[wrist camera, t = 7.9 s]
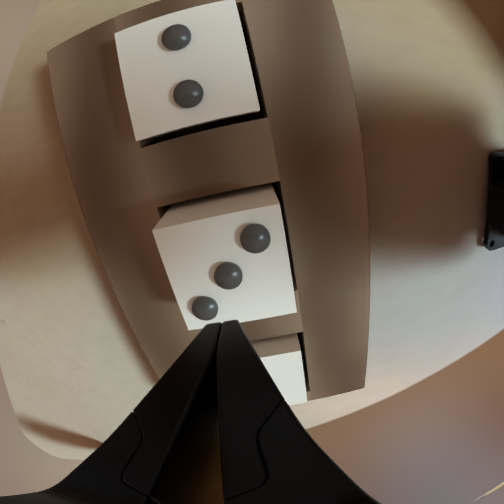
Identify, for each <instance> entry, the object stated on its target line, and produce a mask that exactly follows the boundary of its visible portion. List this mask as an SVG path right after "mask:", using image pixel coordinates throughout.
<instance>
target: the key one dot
mask: <svg viewBox="0 0 504 504" xmlns="http://www.w3.org/2000/svg"><path fill="white" fill-rule="evenodd" d="M250 342H251V344H252V345H253V347H254V349H255V350H256V352H257V354H258V356H259V357H260V359H261V361H262V362H263V364H264V366H265V367H266V369H267V371H268V372H269V374H270V376H271V377H272V379H273V381H274V382H275V384H276V386H277V387H278V389H279V391H280V392H281V394H282V396H283V397H284V399H285V401H286V402H287V403H288V405H294V404H299V403H304V402H307V394H306V386H305V378H304V370H303V363H302V355H301V349H300V344H299V340H298V336H297V333H293V334H288V335H283V336H277V337H272V338H266V339H260V340H254V341H250Z"/></svg>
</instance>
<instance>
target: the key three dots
mask: <svg viewBox="0 0 504 504" xmlns="http://www.w3.org/2000/svg"><path fill="white" fill-rule="evenodd" d="M152 232H153V235H154V238H155V241H156V244H157V247H158V250H159V253H160V256H161V259H162V261H163V264H164V267H165V270H166V273H167V275H168V278H169V281H170V284H171V286H172V289H173V292H174V294H175V297H176V300H177V302H178V305H179V308H180V310H181V313H182V315H183V318H184V320H185V323H186V325H187V328H188V330H195V329H202V328H204V326H205V325H206V324H210V323H217V322H221V323H223V322H224V321H229V320H238V321H239V323H241V322H247V321H253V320H259V319H264V318H270V317H275V316H281V315H286V314H291V313H296V312H297V309H296V302H295V295H294V288H293V282H292V275H291V269H290V263H289V256H288V250H287V244H286V238H285V232H284V226H283V220H282V214H281V208H280V203H279V201H278V198H277V196H276V194H275V191H274V189H273V187H272V184H271V183H268V184H263V185H257V186H252V187H247V188H242V189H237V190H232V191H228V192H223V193H218V194H214V195H209V196H205V197H200V198H196V199H191V200H187V201H183V202H178V203H174V204H172V205H171V207H170V208H169V209H168V210H167V212H166V213H165V214H164V215H163V217H162V218H161V219H160V221H159V222H158V223H157V225H156V226H155V227H154V229H153V230H152Z"/></svg>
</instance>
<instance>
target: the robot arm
mask: <svg viewBox="0 0 504 504" xmlns="http://www.w3.org/2000/svg"><path fill="white" fill-rule="evenodd" d="M490 242H491V243H490ZM484 246H485V248H487V249H488V250H489V251H491V250H495V249H498V248H501V247H504V151H498V152H492V153H491V154H490V156H489V191H488V209H487V221H486V230H485V239H484ZM133 411H134V412H131V413H130V414H129V415H128V417H127V418H126V419H125V420H124V421H123V422H122V424H121V425H120V426H119V427H118V428H117V429H116V430H115V431H114V432H113V433H112V434H111V436H110V437H109V438H108V439H107V440H106V441H104V442H103V443H102V444H101V445H100V446H99V447H98V448H97V449H96V450H95V451H94V452H93V453H92V454H91V455H90V456H89V457H88V458H87V459H85V460H84V461H83V462H82V463H81V464H80V465H79V466H78V467H77V468H75V469H74V470H73V471H72V472H71V473H70V474H69V475H68V476H67V477H65V478H64V479H63V480H62V481H61V482H59V483H58V484H56V485H55V486H53V487H51V488H49V489H46V490H43V491H39V492H34V493H27V494H20V495H11V496H1V497H0V504H381V503H379V502H378V501H376V500H375V499H374V498H372V497H371V496H370V495H368V494H367V493H366V492H365V491H364V490H362V489H361V488H360V487H359V486H358V485H357V484H356V483H355V482H353V480H352V479H351V478H349V476H347V475H346V474H345V473H344V471H343V470H342V469H341V468H340V467H339V466H338V465H337V464H336V463H335V462H334V461H333V460H332V459H331V458H330V457H329V456H328V455H327V454H326V453H325V452H324V451H323V450H322V449H321V448H320V447H319V445H318V444H317V443H316V442H315V441H314V440H313V439H312V437H311V436H310V435H309V434H308V432H307V431H306V430H305V429H304V427H303V426H302V425H301V423H300V422H299V420H298V419H297V417H296V416H295V414H294V413H293V411H292V410H291V408H290V407H289V405H288V403H287V402H286V401H285V399H284V397H283V396H282V394H281V392H280V391H279V389H278V387H277V386H276V384H275V382H274V381H273V379H272V377H271V376H270V374H269V372H268V371H267V369H266V367H265V366H264V364H263V362H262V361H261V359H260V357H259V356H258V354H257V352H256V350H255V349H254V347H253V345H252V344H251V342H250V340H249V338H248V337H247V335H246V333H245V331H244V330H243V328H242V326H241V324H240V323H239V321H238V320H229V321H224V322H223V323H221V322H217V323H210V324H206V325H205V326H204V328H203V329H202V330H201V331H200V332H199V333H198V335H197V336H196V337H195V338H194V339H193V341H192V342H191V343H190V344H189V345H188V347H187V348H186V349H185V350H184V351H183V352H182V354H181V355H180V356H179V357H178V358H177V360H176V361H175V362H174V363H173V364H172V365H171V367H170V368H169V369H168V370H167V371H166V372H165V374H164V375H163V376H162V377H161V378H160V380H159V381H158V382H157V383H156V384H155V385H154V387H153V388H152V389H151V390H150V391H149V392H148V394H147V395H146V396H145V397H144V398H143V399H142V401H141V402H140V403H139V404H138V405H137V406H136V408H135V409H134V410H133Z"/></svg>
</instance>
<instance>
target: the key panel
mask: <svg viewBox="0 0 504 504" xmlns="http://www.w3.org/2000/svg"><path fill="white" fill-rule="evenodd" d="M219 1H224V0H161V1H157V2H154V3H151V4H148V5H146V6H143V7H140V8H137V9H134V10H132V11H129V12H127V13H124V14H122V15H119V16H117V17H114V18H112V19H110V20H107V21H105V22H103V23H101V24H98V25H96V26H94V27H92V28H90V29H88V30H86V31H84V32H82V33H80V34H78V35H76V36H74V37H72V38H70V39H69V40H67V41H65V42H63V43H61V44H60V45H58V46H56V47H54V48H53V49H51V50H49V51H48V52H47V58H48V67H49V74H50V81H51V88H52V94H53V99H54V105H55V110H56V115H57V120H58V125H59V130H60V134H61V138H62V143H63V147H64V151H65V155H66V158H67V162H68V166H69V169H70V173H71V177H72V180H73V183H74V187H75V190H76V193H77V196H78V200H79V203H80V206H81V209H82V212H83V215H84V218H85V220H86V223H87V226H88V229H89V232H90V234H91V237H92V240H93V242H94V245H95V248H96V250H97V253H98V255H99V258H100V260H101V263H102V265H103V268H104V270H105V272H106V275H107V277H108V279H109V282H110V284H111V286H112V288H113V291H114V293H115V295H116V297H117V299H118V302H119V304H120V306H121V308H122V310H123V312H124V314H125V316H126V318H127V320H128V322H129V324H130V326H131V328H132V330H133V332H134V334H135V336H136V338H137V340H138V342H139V344H140V346H141V348H142V349H143V351H144V353H145V355H146V357H147V359H148V360H149V362H150V364H151V366H152V368H153V369H154V371H155V373H156V374H157V376H158V378H159V380H160V378H161V377H162V376H163V375H164V374H165V372H166V371H167V370H168V369H169V368H170V367H171V365H172V364H173V363H174V362H175V361H176V360H177V358H178V357H179V356H180V355H181V354H182V352H183V351H184V350H185V349H186V348H187V347H188V345H189V344H190V343H191V342H192V341H193V339H194V338H195V337H196V336H197V335H198V333H199V332H200V331H201V330H202V329H203V328H202V329H195V330H188V328H187V325H186V323H185V320H184V318H183V315H182V313H181V310H180V308H179V305H178V302H177V300H176V297H175V294H174V292H173V289H172V286H171V284H170V281H169V278H168V275H167V273H166V270H165V267H164V264H163V261H162V259H161V256H160V253H159V250H158V247H157V244H156V241H155V238H154V235H153V232H152V230H153V229H154V227H155V226H156V225H157V223H158V222H159V221H160V219H161V218H162V217H163V215H164V214H165V213H166V212H167V210H168V209H169V208H170V207H171V205H172V204H174V203H177V202H181V201H186V200H190V199H194V198H199V197H203V196H208V195H212V194H217V193H222V192H226V191H231V190H236V189H241V188H246V187H251V186H256V185H261V184H266V183H272V182H276V185H277V190H278V196H279V202H280V207H281V213H282V219H283V225H284V231H285V237H286V243H287V249H288V255H289V261H290V269H291V275H292V282H293V288H294V295H295V302H296V309H297V312H296V313H291V314H286V315H281V316H275V317H270V318H264V319H259V320H253V321H247V322H241V323H240V324H241V326H242V328H243V330H244V331H245V333H246V335H247V337H248V338H249V340H250V341H254V340H260V339H266V338H272V337H277V336H283V335H288V334H293V333H298V332H300V336H301V344H302V351H303V359H304V363H303V370H304V378H305V386H306V394H307V401H310V400H315V399H319V398H324V397H329V396H333V395H337V394H342V393H346V392H350V391H354V390H357V389H361V388H364V386H365V376H366V365H367V352H368V336H369V315H370V239H369V217H368V201H367V188H366V177H365V167H364V157H363V149H362V141H361V133H360V126H359V120H358V113H357V107H356V101H355V95H354V90H353V84H352V79H351V74H350V69H349V65H348V60H347V56H346V51H345V47H344V43H343V39H342V35H341V31H340V27H339V23H338V19H337V16H336V12H335V9H334V5H333V2H332V0H235V1H236V5H237V9H238V14H239V18H240V21H242V22H243V26H244V30H245V35H246V39H247V43H248V48H249V52H250V56H251V61H252V65H253V70H254V74H255V79H256V84H257V88H258V93H259V98H260V103H261V107H262V112H263V117H264V118H262V119H257V120H251V121H246V122H241V123H236V124H231V125H227V126H222V127H218V128H213V129H209V130H205V131H200V132H196V133H192V134H189V135H185V136H181V137H177V138H174V139H170V140H166V141H163V142H159V143H158V142H157V138H156V137H152V138H148V139H143V140H139V141H136V139H135V135H134V131H133V126H132V122H131V118H130V113H129V109H128V104H127V100H126V95H125V90H124V85H123V80H122V75H121V70H120V64H119V59H118V53H117V47H116V41H115V35H114V33H117V32H119V31H122V30H124V29H127V28H129V27H132V26H135V25H137V24H140V23H143V22H146V21H148V20H151V19H154V18H157V17H161V16H164V15H167V14H170V13H174V12H177V11H181V10H185V9H188V8H192V7H196V6H200V5H205V4H209V3H214V2H219Z"/></svg>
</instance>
